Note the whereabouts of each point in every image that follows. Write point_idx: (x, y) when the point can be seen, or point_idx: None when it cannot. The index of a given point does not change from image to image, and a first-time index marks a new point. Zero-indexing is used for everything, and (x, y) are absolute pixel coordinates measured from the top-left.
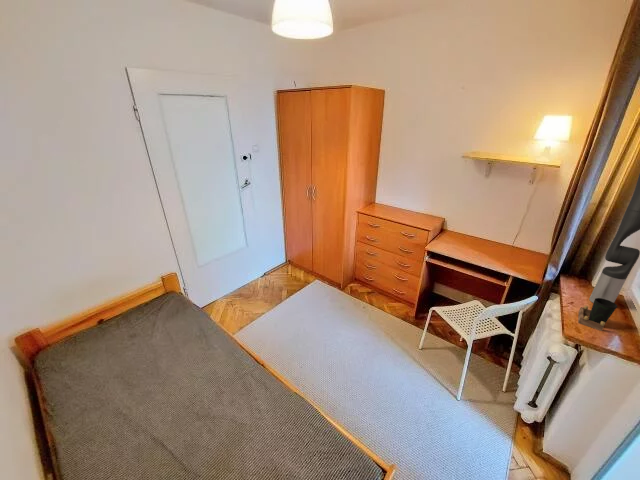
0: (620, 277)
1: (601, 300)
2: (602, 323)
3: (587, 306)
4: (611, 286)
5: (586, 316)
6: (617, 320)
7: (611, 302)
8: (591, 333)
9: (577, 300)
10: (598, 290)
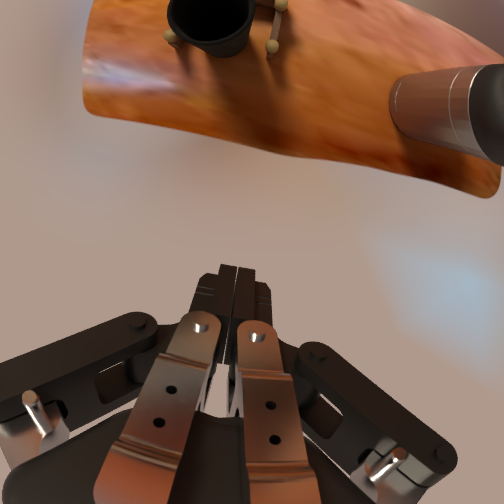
0: (476, 116)
1: (249, 3)
2: (164, 34)
3: (283, 5)
4: (438, 95)
5: None
6: (301, 114)
7: (237, 31)
8: (139, 23)
9: (388, 30)
10: (431, 72)
